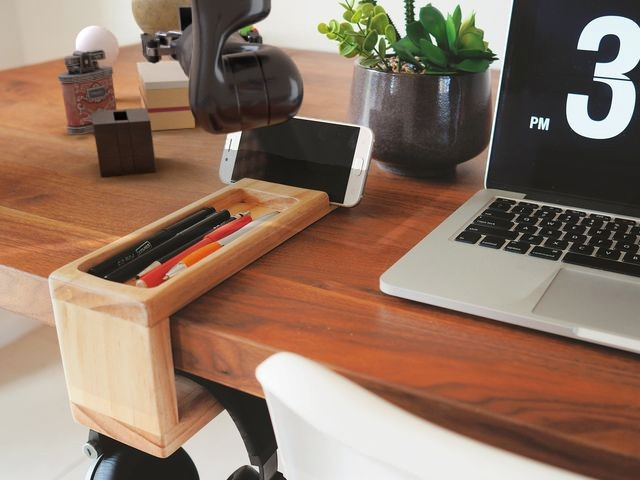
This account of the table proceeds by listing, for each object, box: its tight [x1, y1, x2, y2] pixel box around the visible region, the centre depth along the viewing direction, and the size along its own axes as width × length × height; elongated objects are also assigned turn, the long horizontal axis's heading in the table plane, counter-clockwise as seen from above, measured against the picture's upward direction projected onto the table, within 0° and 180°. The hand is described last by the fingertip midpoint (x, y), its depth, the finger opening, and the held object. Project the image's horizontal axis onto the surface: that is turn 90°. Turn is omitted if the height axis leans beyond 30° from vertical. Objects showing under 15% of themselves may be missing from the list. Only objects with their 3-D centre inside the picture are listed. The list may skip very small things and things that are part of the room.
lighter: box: [57, 49, 118, 135], centre depth 96 cm, size 8×3×10 cm, turn 151°
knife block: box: [92, 107, 157, 178], centre depth 83 cm, size 6×6×6 cm
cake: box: [136, 60, 196, 132], centre depth 104 cm, size 14×14×6 cm
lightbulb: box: [75, 25, 120, 80], centre depth 109 cm, size 6×6×11 cm
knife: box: [177, 5, 192, 31], centre depth 102 cm, size 2×3×15 cm
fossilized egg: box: [131, 0, 191, 37], centre depth 157 cm, size 13×13×15 cm
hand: (194, 36), depth 95 cm, fingers open, 8 cm apart
